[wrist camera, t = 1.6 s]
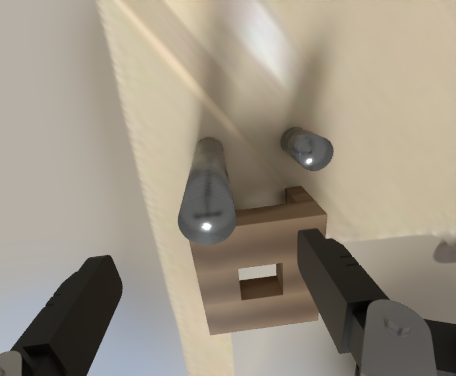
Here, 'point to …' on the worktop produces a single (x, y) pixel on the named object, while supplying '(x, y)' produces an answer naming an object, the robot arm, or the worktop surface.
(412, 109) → the worktop surface
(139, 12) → the worktop surface
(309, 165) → the short pin
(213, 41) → the worktop surface
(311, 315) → the wooden square-hole block
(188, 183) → the long pin
